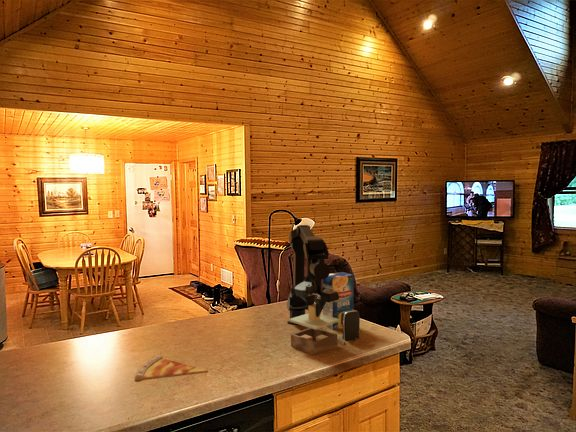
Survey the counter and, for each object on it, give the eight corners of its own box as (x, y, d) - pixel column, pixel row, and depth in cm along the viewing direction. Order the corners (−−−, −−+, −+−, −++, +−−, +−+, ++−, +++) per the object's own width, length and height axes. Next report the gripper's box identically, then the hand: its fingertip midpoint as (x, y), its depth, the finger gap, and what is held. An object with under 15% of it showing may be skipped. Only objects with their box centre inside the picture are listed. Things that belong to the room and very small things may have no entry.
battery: (354, 336, 172) (354, 308, 171) (359, 339, 168) (360, 310, 168) (339, 339, 169) (339, 310, 168) (345, 342, 165) (345, 313, 164)
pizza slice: (172, 393, 126) (172, 386, 126) (120, 377, 137) (119, 370, 137) (207, 373, 140) (207, 367, 140) (157, 359, 151) (157, 353, 151)
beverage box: (322, 326, 184) (322, 274, 182) (343, 322, 190) (343, 271, 188) (332, 331, 178) (332, 277, 177) (353, 326, 184) (353, 274, 182)
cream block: (315, 346, 160) (315, 336, 160) (322, 343, 162) (322, 334, 162) (323, 348, 158) (323, 339, 157) (329, 346, 160) (329, 336, 160)
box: (290, 347, 160) (290, 334, 160) (312, 339, 169) (313, 326, 168) (315, 357, 152) (315, 342, 151) (337, 347, 160) (337, 334, 160)
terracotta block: (298, 346, 160) (298, 336, 160) (305, 343, 163) (305, 334, 162) (305, 348, 158) (305, 339, 157) (312, 346, 160) (312, 336, 160)
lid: (289, 321, 159) (289, 305, 159) (312, 313, 168) (313, 299, 168) (315, 329, 150) (315, 313, 150) (339, 321, 159) (339, 305, 159)
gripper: (280, 272, 159) (280, 315, 160) (319, 281, 146) (319, 326, 147) (301, 268, 167) (301, 308, 168) (340, 276, 153) (339, 319, 155)
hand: (314, 315), depth 159 cm, fingers closed on lid, 3 cm apart
